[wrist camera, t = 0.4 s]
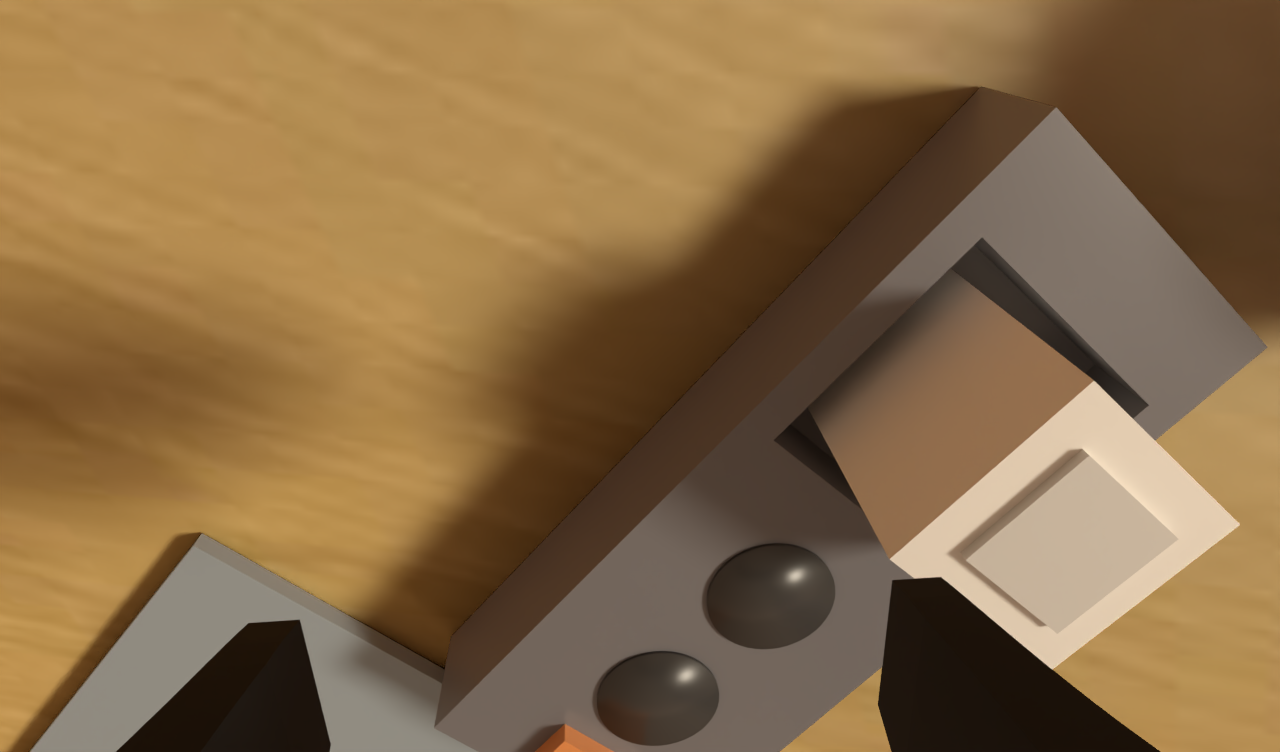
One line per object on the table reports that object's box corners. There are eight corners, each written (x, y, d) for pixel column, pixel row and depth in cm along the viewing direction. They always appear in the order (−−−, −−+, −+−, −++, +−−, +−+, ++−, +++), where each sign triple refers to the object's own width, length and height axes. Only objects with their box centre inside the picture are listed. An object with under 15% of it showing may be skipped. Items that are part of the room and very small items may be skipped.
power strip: (1171, 295, 20) (1286, 357, 17) (651, 753, 25) (663, 867, 22) (981, 86, 17) (1071, 111, 14) (450, 636, 22) (430, 745, 19)
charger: (1051, 368, 19) (1249, 532, 14) (916, 488, 20) (1048, 685, 15) (936, 257, 18) (1102, 386, 12) (798, 391, 19) (894, 566, 13)
